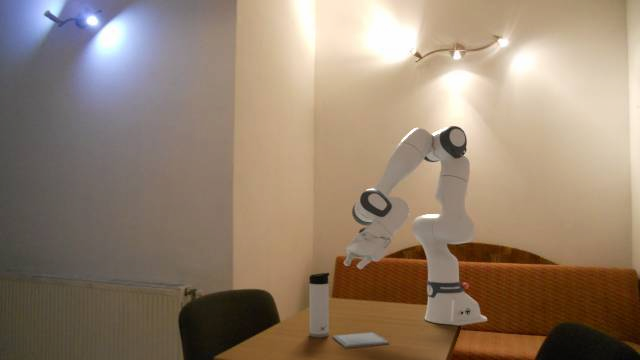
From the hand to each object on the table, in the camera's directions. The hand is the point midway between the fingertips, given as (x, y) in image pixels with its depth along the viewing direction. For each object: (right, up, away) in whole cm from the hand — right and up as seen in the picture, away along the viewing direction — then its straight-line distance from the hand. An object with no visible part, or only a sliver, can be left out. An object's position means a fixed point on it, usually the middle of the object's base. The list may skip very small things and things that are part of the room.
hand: (352, 266), depth 155 cm
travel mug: (-11, -21, -7) cm, 25 cm away
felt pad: (+1, -21, -13) cm, 25 cm away
